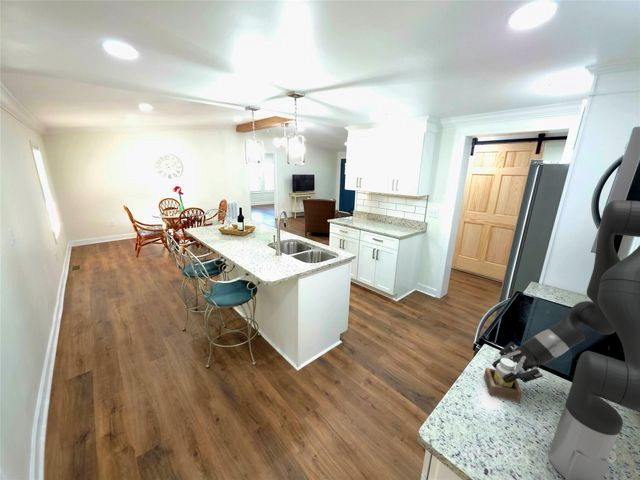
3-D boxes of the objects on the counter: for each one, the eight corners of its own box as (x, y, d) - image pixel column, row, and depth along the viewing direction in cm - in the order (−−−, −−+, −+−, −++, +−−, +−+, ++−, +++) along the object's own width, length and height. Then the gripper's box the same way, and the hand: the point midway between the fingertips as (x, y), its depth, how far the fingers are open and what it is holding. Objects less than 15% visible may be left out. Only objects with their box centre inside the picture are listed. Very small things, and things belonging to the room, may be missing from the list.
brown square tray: (519, 402, 85) (522, 393, 83) (489, 395, 87) (492, 385, 86) (511, 382, 92) (513, 373, 91) (483, 376, 95) (485, 367, 94)
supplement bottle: (490, 384, 90) (495, 361, 87) (496, 376, 93) (501, 353, 90) (508, 394, 86) (514, 370, 83) (514, 385, 89) (519, 362, 86)
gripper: (523, 325, 90) (481, 351, 95) (556, 355, 76) (504, 384, 81) (536, 339, 91) (493, 364, 96) (570, 370, 78) (518, 398, 82)
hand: (499, 373), depth 88 cm, fingers closed on supplement bottle, 5 cm apart
